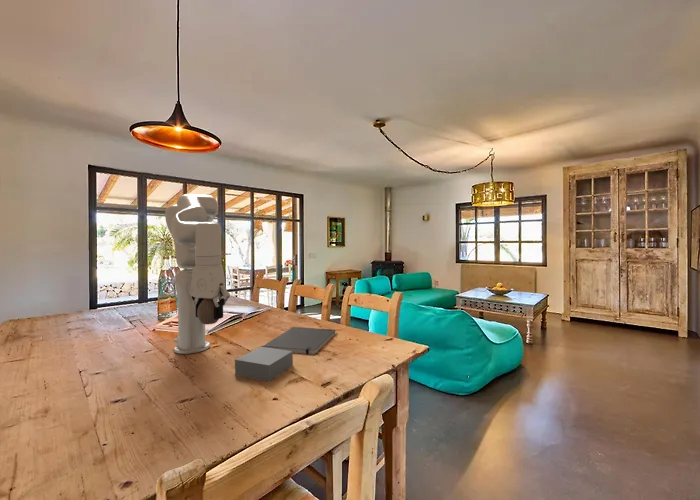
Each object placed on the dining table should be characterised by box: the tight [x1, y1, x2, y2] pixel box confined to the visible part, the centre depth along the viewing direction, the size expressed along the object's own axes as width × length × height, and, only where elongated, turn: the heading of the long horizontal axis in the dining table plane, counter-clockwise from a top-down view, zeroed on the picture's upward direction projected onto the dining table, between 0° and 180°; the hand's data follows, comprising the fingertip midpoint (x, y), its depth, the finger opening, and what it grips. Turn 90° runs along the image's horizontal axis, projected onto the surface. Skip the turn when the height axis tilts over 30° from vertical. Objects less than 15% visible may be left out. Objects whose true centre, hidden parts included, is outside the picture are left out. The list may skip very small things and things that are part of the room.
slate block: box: [234, 346, 294, 383], centre depth 103 cm, size 13×13×5 cm
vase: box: [197, 298, 220, 325], centre depth 100 cm, size 7×7×9 cm
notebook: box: [262, 326, 337, 355], centre depth 133 cm, size 22×2×28 cm
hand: (209, 317), depth 100 cm, fingers closed on vase, 6 cm apart
